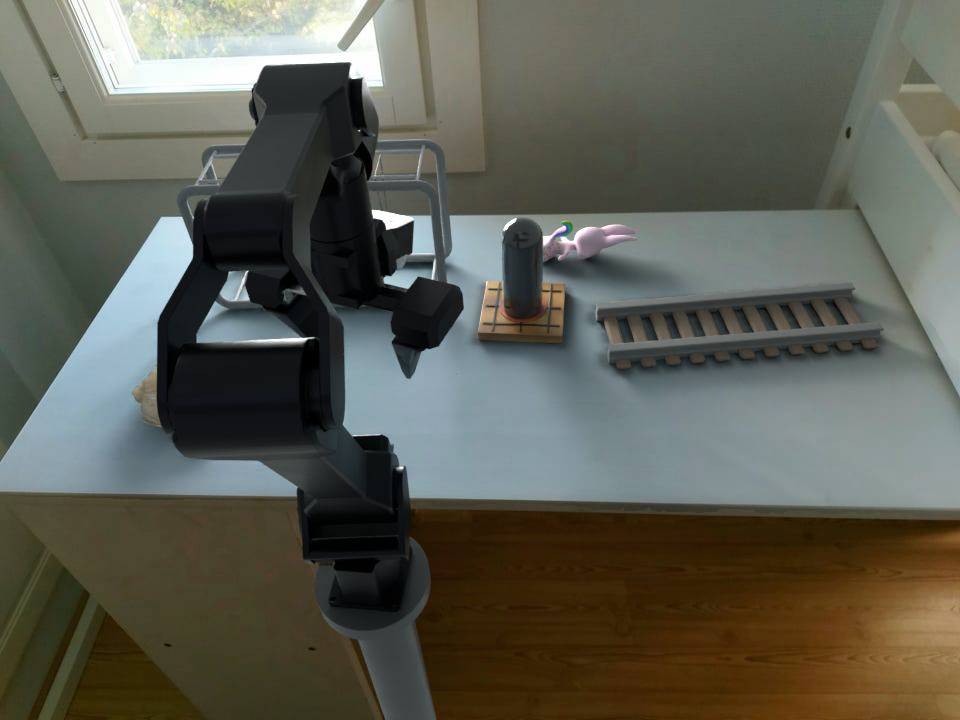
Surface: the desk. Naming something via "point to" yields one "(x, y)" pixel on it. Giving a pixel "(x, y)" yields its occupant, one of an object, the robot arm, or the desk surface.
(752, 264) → the desk surface
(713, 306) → the model train track
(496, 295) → the board
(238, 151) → the newton's cradle
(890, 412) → the desk surface
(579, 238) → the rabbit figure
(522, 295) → the dark grey cylinder
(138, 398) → the seashell
